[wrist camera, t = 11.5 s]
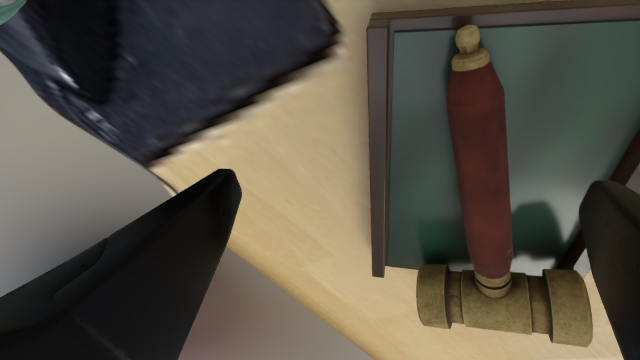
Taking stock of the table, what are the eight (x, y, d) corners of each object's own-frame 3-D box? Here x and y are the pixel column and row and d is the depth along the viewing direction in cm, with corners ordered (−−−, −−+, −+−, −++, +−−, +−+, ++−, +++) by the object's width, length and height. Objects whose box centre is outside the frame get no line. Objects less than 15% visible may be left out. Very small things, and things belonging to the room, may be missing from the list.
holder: (728, -11, 13) (774, 5, 12) (557, 273, 26) (567, 301, 24) (371, 12, 17) (366, 27, 15) (374, 253, 30) (372, 276, 28)
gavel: (343, 70, 15) (643, -5, 10) (367, 41, 18) (600, -25, 13) (424, 338, 25) (590, 362, 20) (429, 288, 28) (573, 299, 24)
